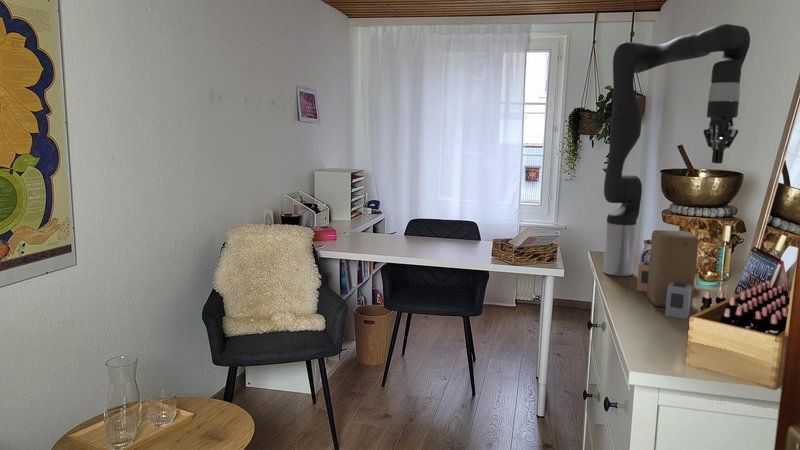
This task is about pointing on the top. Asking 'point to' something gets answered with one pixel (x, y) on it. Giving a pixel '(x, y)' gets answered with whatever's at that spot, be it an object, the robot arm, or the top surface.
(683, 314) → the slate tagged block
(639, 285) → the terracotta tagged block
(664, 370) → the top surface
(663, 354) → the top surface
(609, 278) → the top surface
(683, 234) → the wooden block
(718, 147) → the robot arm
